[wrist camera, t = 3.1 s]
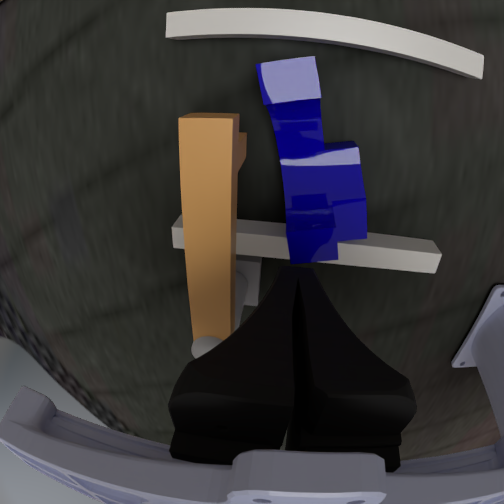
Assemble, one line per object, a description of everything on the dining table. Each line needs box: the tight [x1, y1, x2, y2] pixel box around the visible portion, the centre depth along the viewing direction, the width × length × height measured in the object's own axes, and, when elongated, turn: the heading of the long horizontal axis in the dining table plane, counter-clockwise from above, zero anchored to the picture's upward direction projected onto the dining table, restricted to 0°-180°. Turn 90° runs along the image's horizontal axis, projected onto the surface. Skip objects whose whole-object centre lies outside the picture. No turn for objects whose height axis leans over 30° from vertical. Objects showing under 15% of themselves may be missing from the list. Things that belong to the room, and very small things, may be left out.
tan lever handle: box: [179, 113, 248, 358], centre depth 13 cm, size 10×2×5 cm, turn 178°
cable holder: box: [256, 56, 367, 264], centre depth 13 cm, size 8×4×4 cm, turn 11°
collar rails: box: [166, 8, 484, 306], centre depth 14 cm, size 14×15×2 cm
